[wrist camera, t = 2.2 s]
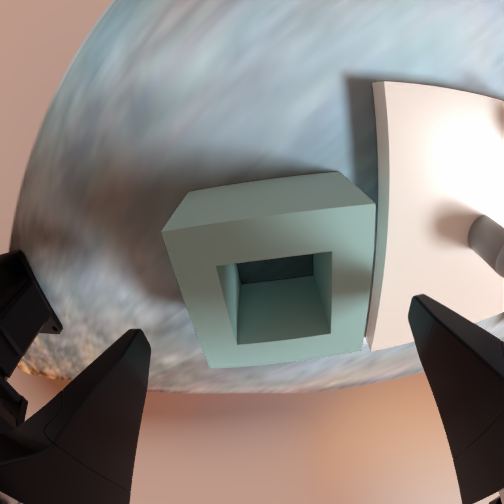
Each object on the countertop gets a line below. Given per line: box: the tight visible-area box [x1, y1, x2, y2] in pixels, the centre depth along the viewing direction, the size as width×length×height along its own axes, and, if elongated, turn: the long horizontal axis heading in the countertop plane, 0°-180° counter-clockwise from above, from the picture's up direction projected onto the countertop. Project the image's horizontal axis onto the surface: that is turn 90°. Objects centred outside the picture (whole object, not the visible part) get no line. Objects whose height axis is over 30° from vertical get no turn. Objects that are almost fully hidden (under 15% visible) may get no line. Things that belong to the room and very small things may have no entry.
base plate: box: [365, 81, 504, 352], centre depth 10 cm, size 12×14×5 cm
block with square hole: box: [161, 172, 376, 368], centre depth 11 cm, size 6×6×4 cm
